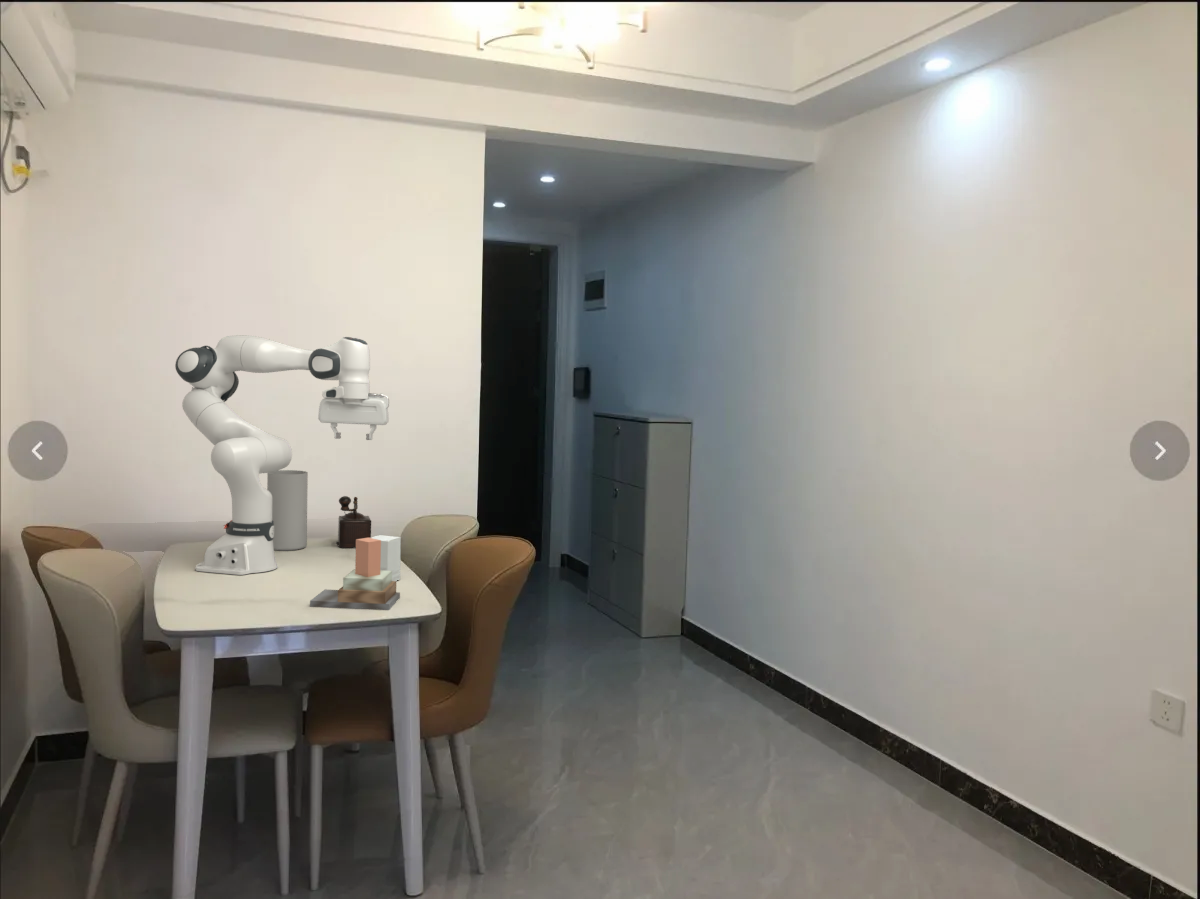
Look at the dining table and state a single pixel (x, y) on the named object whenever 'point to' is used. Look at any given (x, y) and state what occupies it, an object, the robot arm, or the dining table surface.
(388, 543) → the supplement box
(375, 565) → the block
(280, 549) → the cylinder vase
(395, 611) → the dining table surface
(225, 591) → the dining table surface
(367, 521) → the manual coffee grinder
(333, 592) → the build plinth
